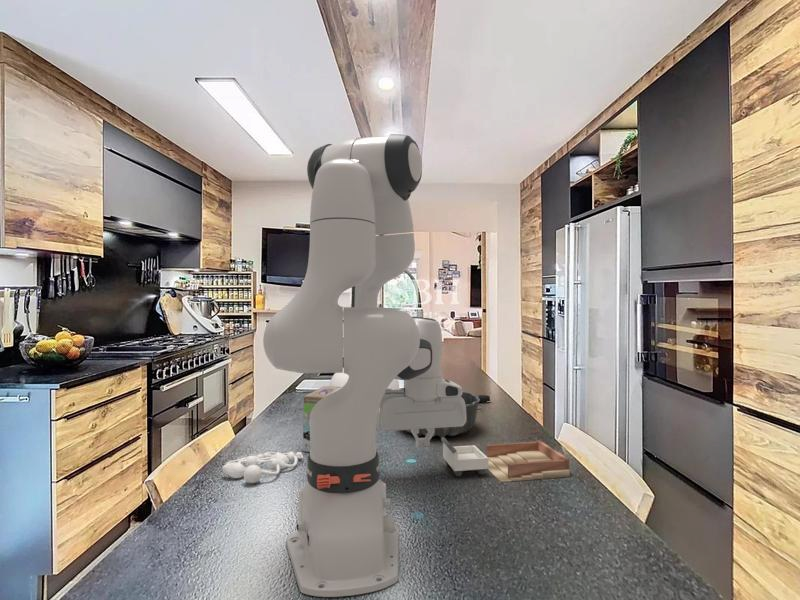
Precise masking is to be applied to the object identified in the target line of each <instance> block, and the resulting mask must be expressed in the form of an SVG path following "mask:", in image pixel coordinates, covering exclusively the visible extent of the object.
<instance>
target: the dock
mask: <svg viewBox="0 0 800 600" xmlns="http://www.w3.org/2000/svg"><path fill="white" fill-rule="evenodd" d="M485 446H486V448H485V449H486V450H485V455H486V456H487V457H488V469H487V470H488V471H489V473H491V474H492V475H493V476H494V477H495V478H496V479H497V481H499V482H500V483H508V482H520V481H533V480H546V479H547V480H548V479H555V478H556V479H558V478H569V477H571V471H570V458H568V457H567V456H565V455H564V454H562V453H561V452H559V451H558V450H556V449H554V448H553V447H552V446H550V445H549V444H546V443H545V442H543V441H542V440H540V439H539V440H538V439H537V440H535V441H524V442H523V441H522V442H508V443H493V444H492V443H491V444H486V445H485Z"/></svg>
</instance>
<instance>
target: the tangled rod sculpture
mask: <svg viewBox="0 0 800 600" xmlns="http://www.w3.org/2000/svg"><path fill="white" fill-rule="evenodd" d="M300 459H304V456H303V453H302V452H301V451H297V452H294V451H288V452H285V453H281V452H279V451H277V452H274V451H268V452H264V453H263V454H262V453H259V454H256V455H249V456H245V457H242V458H241V457H240V458H238V459H233V460H230V461H227V462H226V464H224V465H223V466H222V468H221V469H222V472H223V473H224V474H225V475H227V476H229V477H231V478H233V479H241V478H244V480H245V482H246V483H249V484H255V483H257V482H259V480H260V479H261V478H262V474H263V475H267V476H277V475H278V474H280V472H281V470H284V469H286V468H295V467H296V466H297V464H298V462H299V461H298V460H300ZM290 461H294V462H293V464H289V463H290ZM263 463H264V464H265V463H266V465H267V468H268V469H269V470H271V471H269V470H264V469H261V467H260V466H259V465H262V464H263ZM243 464H245V465H243Z"/></svg>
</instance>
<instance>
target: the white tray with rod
mask: <svg viewBox="0 0 800 600" xmlns="http://www.w3.org/2000/svg"><path fill="white" fill-rule="evenodd" d="M440 441H442V459H444V463H445V464H446V465H447V466H449V467H451V469H452V470H453V473H454V475H455V477H458V478H459V477H461V476H462V474H463V472H465V471H477V473H478V474H479V475H480V476H481V475H485V474H486V472H487V470H488V457H487V456H486V453H484V452H483V451H481V450H480V448H478V447H477V446H476V445H474V444H473V445H459V446H453V444H451V443H450V442H449V441H448V440H447V438H445V436H444V437H442V438H441V437H440Z"/></svg>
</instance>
